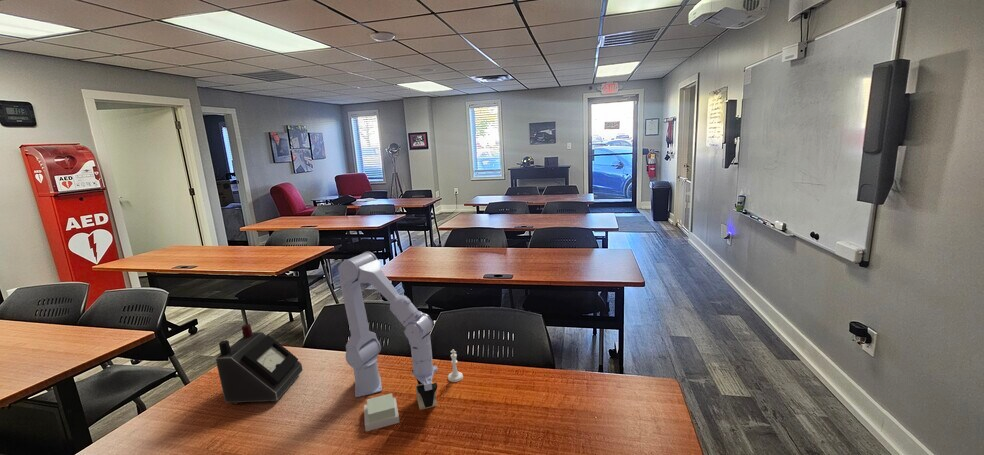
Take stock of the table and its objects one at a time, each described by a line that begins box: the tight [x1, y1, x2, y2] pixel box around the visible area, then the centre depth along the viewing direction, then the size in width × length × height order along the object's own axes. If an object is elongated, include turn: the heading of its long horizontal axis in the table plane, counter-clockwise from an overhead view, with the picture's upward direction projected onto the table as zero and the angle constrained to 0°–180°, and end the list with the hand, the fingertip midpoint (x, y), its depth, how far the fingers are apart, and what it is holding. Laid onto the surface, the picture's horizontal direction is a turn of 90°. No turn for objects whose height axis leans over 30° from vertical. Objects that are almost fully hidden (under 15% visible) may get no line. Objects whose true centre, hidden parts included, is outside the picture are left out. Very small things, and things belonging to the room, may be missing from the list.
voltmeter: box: [214, 323, 304, 404], centre depth 128 cm, size 16×16×20 cm
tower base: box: [363, 397, 400, 432], centre depth 113 cm, size 9×9×2 cm
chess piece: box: [447, 348, 464, 383], centre depth 129 cm, size 5×5×10 cm
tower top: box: [366, 392, 396, 423], centre depth 113 cm, size 7×7×2 cm
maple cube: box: [415, 381, 438, 411], centre depth 118 cm, size 5×5×5 cm
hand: (426, 398), depth 118 cm, fingers open, 7 cm apart
